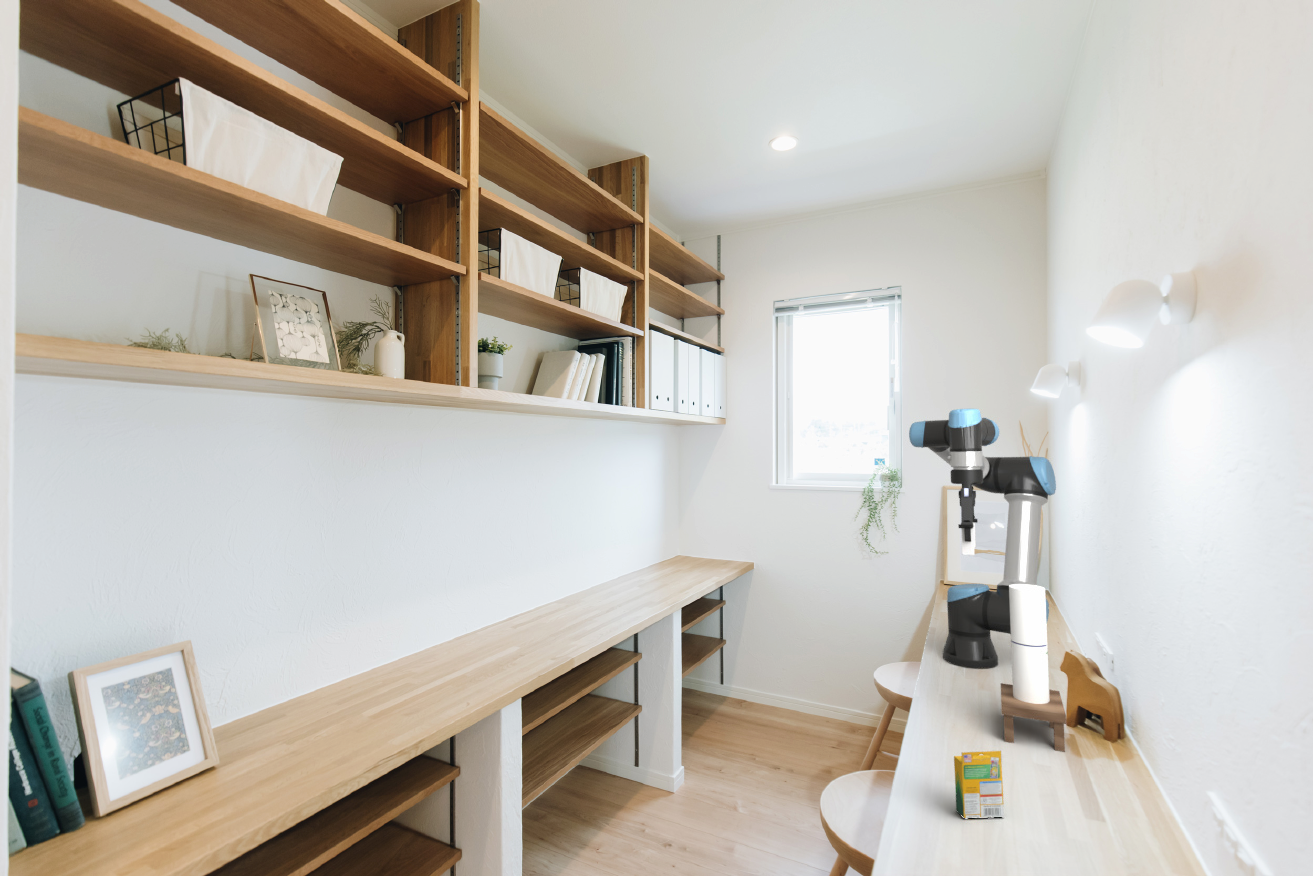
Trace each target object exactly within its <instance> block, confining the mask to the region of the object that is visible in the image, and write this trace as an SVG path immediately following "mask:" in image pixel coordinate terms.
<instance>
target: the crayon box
mask: <svg viewBox="0 0 1313 876" xmlns="http://www.w3.org/2000/svg"><path fill="white" fill-rule="evenodd" d="M953 762H954V764H953V765H954V767H953V768H954V783H955V786H954V787H955V810H957V811H958V812H959V813H960V814H961V815H962V816H963V817H964V818H972V817H977V818H979V817H991V816H992V817H1004V818H1005V805H1004V785H1003V767H1002V765H1003V763H1002V750H987V751H964V752H963V751H962V752H961V755H955V756H953ZM957 811H956V812H957ZM958 812H957V813H958ZM959 813H958V814H959ZM960 814H959V815H960Z"/></svg>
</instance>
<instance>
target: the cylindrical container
mask: <svg viewBox="0 0 1313 876" xmlns="http://www.w3.org/2000/svg"><path fill="white" fill-rule="evenodd" d="M1046 599H1047V598H1046V588H1045V587H1043V586H1041V585H1037V586H1036V585H1029V584H1012V585H1009V600H1010V626H1011V634H1010V643H1011V644H1010V648H1011V672H1012V675H1011V677H1012V685H1013V696H1014V697H1015V698H1016V699H1018V700H1020V701H1024V702H1028V703H1033V704H1045V703H1048V702H1049V701H1050V698H1049V689H1050V679H1049V677H1050V675H1049V654H1048V653H1049V651H1048V649H1049V648H1048V631H1047V630H1048V628H1047V627H1048V626H1047V624H1048V621H1047V622H1046Z"/></svg>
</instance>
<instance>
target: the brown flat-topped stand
mask: <svg viewBox="0 0 1313 876" xmlns="http://www.w3.org/2000/svg"><path fill="white" fill-rule="evenodd" d="M1049 698H1050V701H1049V702H1048V703H1045V704H1033V703H1028V702H1024V701H1020V700H1018V699H1016V698H1015V697H1014V696H1013V684H1008V683H1003V682H1002V683H1000V701H1001V702H1000V705H1001V709H1000V710H1001V715H1003V730H1004V731H1003V733H1004V742H1006V743H1011V744H1012V743H1013V744H1015V734H1014V733H1015V732H1014V728H1015V727H1014V717H1015V718H1016V717H1017V718H1022V719H1023V718H1024V719H1029V720H1036V721H1037V720H1038V721H1043V722H1048V723H1049V728H1051V729H1052V730H1053V747H1054V751H1058V752H1064V753H1066V748H1065V747H1066V745H1065V744H1066V743H1065V741H1066V740H1065V725H1067V713H1066V711H1065V707H1064V702H1063V699H1062V697H1061V693H1060V691H1059V690H1054V689H1050V690H1049Z"/></svg>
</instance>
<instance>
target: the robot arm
mask: <svg viewBox="0 0 1313 876" xmlns="http://www.w3.org/2000/svg"><path fill="white" fill-rule="evenodd" d="M908 431H909V432H908V437H909V438H908V439H909V442H910V444H911V445H912V446H913V447H915V448H921V449H923V448H928V449H929V450H930V451H931V452H933V453H934V454H936V455H937V456H938V457H939V458H940V459H941V460H943V461H945V462H946V464H948V465H949V466H950V468H952V469H951V470H950V483H951V484H953V485H961V487H960V490H958V499H959V506H960V509H961V511H960V512H961V513H960V514H961V517H960V518H961V519H960V520H961V522H960V524H958V529H961V554H962V555H964V556H965V555H968V556H975V549H976V548H977V542H976V523H977V524H978V518H976V517H975V516H976V515H975V507H976V498H977V491H976V490H974V488H977V489H979V490H981V491H984V492H986V493H987V492H988V493H992V494H1000V495H1002V494H1003V499H1004V500H1006V502H1007V503H1008V512H1007V527H1006V539H1005V553H1004V568H1003V579H1002V581H1000V582H999V583H997V585H996V590H995V591H992V590H991V589H990V586H989V585H988V584H984V583H964V584H956V585H952V586H950V587H949V588H948V589H947V593H946V595H947V598H946V605H947V607H946V608H947V621H948V622H947V626H948V630H947V632H948V634H947V637H946V641H945V642H944V643H945V644H944V647H943V650H942V657H943V660H944V661H945V662H948V663H949V664H951V665H954V666H958V667H962V668H963V667H964V668H971V669H991V668H995V667H997V666H998V665H999V655H998V653H997V651H996V648H995V645H994V643H993V641H992V637H991V631H993V632H996V633H997V632H998V633H1004V634H1007V635H1008V634H1010V635H1011V626H1010V600H1009V585H1012V584H1029V585H1036V586H1038V583H1037V581H1038V566H1039V551H1040V550H1039V548H1040V535H1041V534H1040V533H1041V519H1042V516H1041V515H1042V507H1043V506H1044V505H1045V504H1047V503H1048V500H1049V496H1053V495H1055V493H1056V490H1057V482H1056V476H1055V472H1054V468H1053V464H1052V463H1051V462H1050V460H1049V459H1048V458H1046V457H1043V456H1032V455H1030V456H1004V457H1003V456H997V457H996V456H995V457H994V456H992V457H990V456H984V455H983V447H987V446H990V445H992V444H994V443H995V442H996V441H997V440H998V438H999V436H1000V428H999V426H998V424H997V423H996V422H995V421H994V420H993V419H990V418H987V417H982V416H981V411H980V409H979V408H960V409H959V408H958V409H953V410H952V409H951V410H950V412H949V413H948V419H941V420H940V419H937V420H936V419H935V420H922V421H915V422H912V424H911V425H910V427H909V430H908ZM1049 607H1050V604H1049V600H1048V599H1047V598H1046V622H1047V623H1048V621H1049V615H1050V609H1049Z"/></svg>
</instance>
